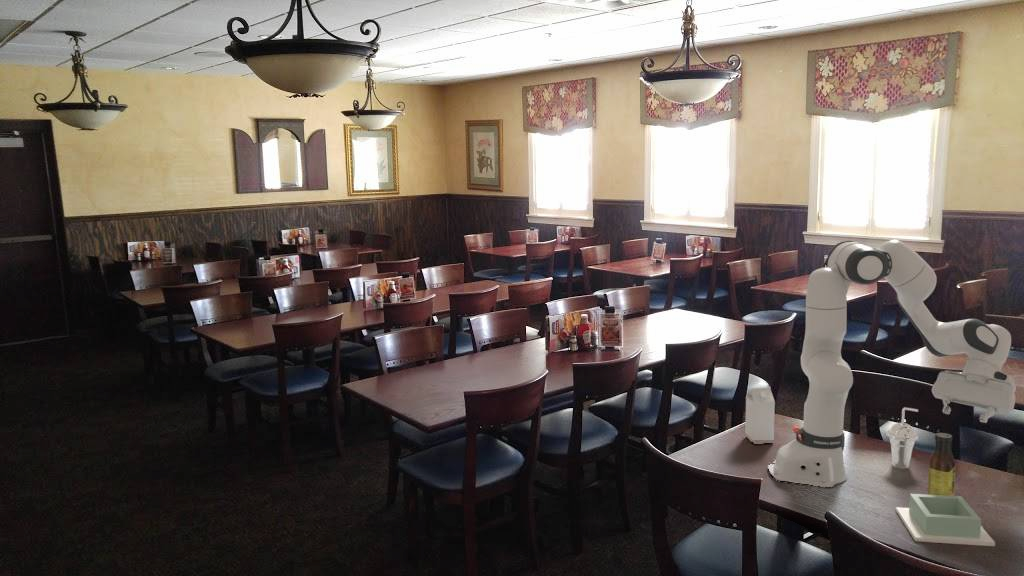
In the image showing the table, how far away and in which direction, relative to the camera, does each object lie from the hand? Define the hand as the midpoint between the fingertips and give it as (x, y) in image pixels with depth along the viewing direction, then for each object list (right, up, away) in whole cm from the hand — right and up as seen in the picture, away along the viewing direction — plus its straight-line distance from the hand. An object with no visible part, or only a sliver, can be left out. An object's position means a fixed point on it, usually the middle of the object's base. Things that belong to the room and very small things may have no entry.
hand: (963, 417), depth 204 cm
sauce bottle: (-9, -23, -4) cm, 25 cm away
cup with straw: (-7, -19, +20) cm, 29 cm away
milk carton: (-43, -16, +44) cm, 63 cm away
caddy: (-16, -26, -16) cm, 34 cm away
